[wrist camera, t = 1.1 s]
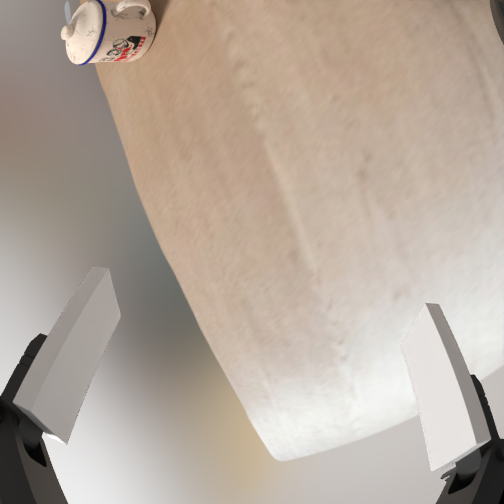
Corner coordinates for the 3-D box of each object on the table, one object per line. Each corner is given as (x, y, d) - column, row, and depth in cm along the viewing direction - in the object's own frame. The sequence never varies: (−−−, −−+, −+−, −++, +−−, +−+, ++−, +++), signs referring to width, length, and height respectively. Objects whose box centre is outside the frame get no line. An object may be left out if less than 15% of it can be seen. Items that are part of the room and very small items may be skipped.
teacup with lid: (123, 73, 35) (53, 80, 26) (114, 26, 32) (47, 27, 23) (180, 32, 28) (99, 24, 19) (166, -18, 25) (92, -32, 16)
